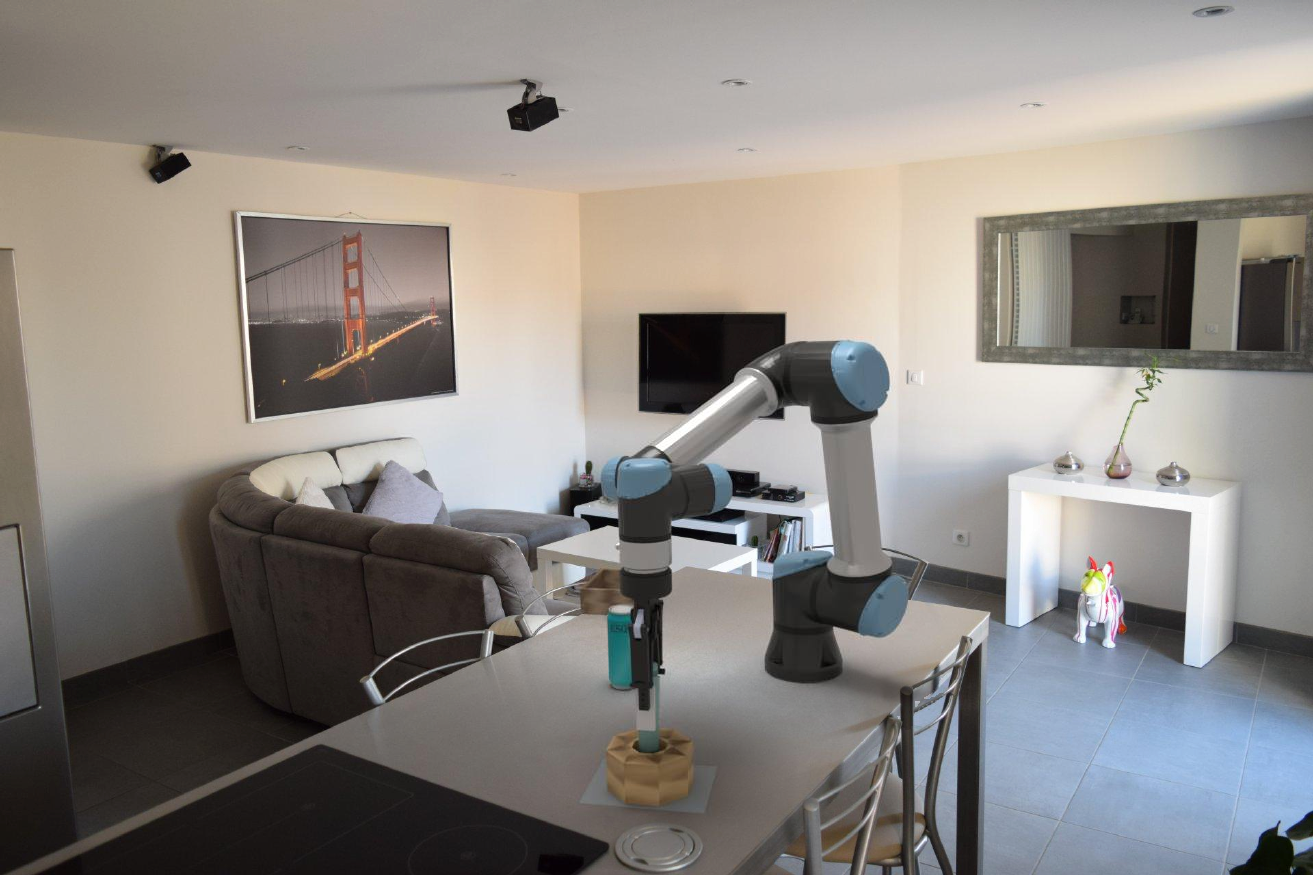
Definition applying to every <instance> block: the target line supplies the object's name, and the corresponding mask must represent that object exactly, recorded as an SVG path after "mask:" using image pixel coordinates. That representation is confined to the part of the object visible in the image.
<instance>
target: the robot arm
mask: <svg viewBox="0 0 1313 875" xmlns="http://www.w3.org/2000/svg"><path fill="white" fill-rule="evenodd" d="M890 385H891V379H890V371H889V367H888V364H887V362H886V359H885V358H884V356H883V354H882V353H881V351H879V350H878V349H877V348H876V347H875V346H874V345H872V344H871V343H868V342H865V341H854V340H849V339H846V340H819V341H818V340H813V341H809V340H800V341H799V340H798V341H792V342H788V343H785V344H783V345H781V346H778V347H775V348H773V349H772V350H770V351H768V352H766V353H764V354H763V355H761V356H759V357H757V358H756V359H754V360H753V361H751V362H750V363H748V364H746V365H745V366H744V367H743V368H741V369H740V370H739V371H737V373H736V374H735V375H734V379H733V382H732V383H730V384H729V385H728V386H726V387H725V388H724V389H722V390H721V391H720V392H718V393H717V394H715V395H714V396H713V397H712V398H710V399H709V400H707V401H706V402H705V403H703V404H702V405H701V406H700V407H698V408H697V409H695V410H694V411H692V412H691V413H690V414H688V415H687V416H686V417H684V418H683V419H682V420H680V421H679V422H678V423H676V424H675V425H673V426H672V427H670V428H669V429H667V431H665V432H664V433H662V434H661V435H660V436H658V437H657V438H656V439H654V440H653V441H652V442H650V443H649V444H647V445H646V446H645V447H643V448H642V449H640V450H639V451H637V452H636V453H635V454H634V455H632V456H629V455H620V456H619V455H618V456H613V457H611V458H609V460H607V462H606V463H605V464H604V466H603V468H602V470H601V473H600V485H601V486H600V487H601V490H602V492H603V494H604V496H606V498H608V500H609V499H610V500H611V501H614V502H616V503H617V519H618V521H617V523H618V542H617V543H616V544H615V546H614V547H615V550H618V551H619V553H618V554H619V555H618V556H619V565H620V566H621V568H620V569H621V570H620V572H619V573H620V593H621V594H622V595H623V596H625V597H627V598H631V599H632V600H634V608H631V611H630V619H631V621H632V624H630V623H629V626H628V631H629V638H630V654H631V676H632V682H631V683H630V687H632V689H635V717H636V718H635V720H636V721H635V722H636V723H635V724H636V728H635V729H636V730H647V731H655V730H656V708H655V685H653V684H654V683H653V662H656V663H657V664H658V709H659V722H660V721H661V718H662V717H661V715H662V713H661V712H662V711H661V709H662V708H661V707H662V706H661V704H662V703H661V675H662V676H663V675H666V668H665V667H664V668H661V667H662V666H663V665H664V664H663V663H664V659H663V653H664V652H663V647H664V646H663V613H664V603H665V602H664V600H663V598H666V597H668V596H669V595H671V594H672V591H673V573H672V572H673V570H672V568H671V567H670V565H672V563H673V548H672V546H673V545H672V544H673V543H672V522H675V521H680V520H684V519H689V518H694V517H699V516H709V515H711V514H713V513H716V512H719V511H722V510H725V508H727V506H728V505H729V503H730V502H731V500H732V497H733V481H732V479H731V476H730V474H729V472H728V470H727V469H725V467H724V466H722V465H721V464H718V463H715V462H712V463H711V462H709V463H705V462H703V461H704V460H705V459H706V458H708V457H709V456H710V455H712V454H713V453H714V452H715V451H717V450H718V449H719V448H720V447H722V446H723V445H724V444H725V443H727V442H728V441H729V440H731V439H732V438H733V437H735V436H736V435H737V434H739V433H740V432H741V431H742V430H743V429H745V428H746V427H747V426H748V425H750V424H751V423H752V422H754V421H755V420H756V419H758V418H759V417H768V416H771V415H772V414H773V413H774V412H776V411H777V410H779V409H782V408H785V407H794V406H796V407H798V406H799V407H807V408H809V414H810V422H811V424H813V425H815V426H816V427H817V428H818V429H819V430H820V437H821V445H822V452H823V462H824V470H825V481H826V483H825V484H826V490H827V491H826V492H827V500H828V509H829V510H828V511H829V519H830V528H831V536H832V546H833V553H832V552H831V551H829V550H820V549H817V550H815V549H814V550H813V549H812V550H800V551H793V552H788V553H783V554H781V555H779V556H777V557H776V559H775V560H774V561H773V565H772V566H773V567H772V577H771V580H772V581H771V584H772V585H771V586H772V617H773V618H772V623H773V624H772V627H773V629H772V632H771V636H770V638H769V641H768V645H767V647H766V649H765V653H764V654H765V655H764V670H765V671H766V672H767V673H768V674H769V675H771V676H772V677H774V678H777V679H781V680H784V681H789V682H796V683H819V682H825V681H829V680H832V679H835V678H837V677H839V676H840V675H841V674H842V672H843V666H844V665H843V657H842V654H841V650H840V647H839V643H838V640H837V638H836V635H835V632H834V631H835V630H834V628H837V629H841V630H844V631H848V632H852V633H856V634H859V635H860V636H863V637H865V636H866V637H867V636H869V637H873V638H877V639H878V638H879V639H881V638H884V637H887V636H890V634H892V633H893V632H895V631H896V630H897V628H898V627H899V625H900V624H901V623H902V620H903V617H904V616H905V613H906V612H907V607H908V604H909V595H910V594H909V587H908V583H907V582H906V580H905V579H904V578H903V577H902V576H900V575H898V574H894V572H893V571H894V570H893V561H892V558H891V557H890V556H889V555H888V554H887V553H886V552H884V551H883V545H882V536H881V535H882V534H881V525H880V524H881V522H880V513H879V503H878V494H877V492H878V491H877V482H876V473H875V472H876V471H875V461H874V451H873V450H874V449H873V441H872V439H873V438H872V430H871V429H872V428H871V425H872V424H873V422H874V421H875V420H876V419H877V418H878V417H879V409H880V408H882V406H883V405H884V404H885V402H887V399H888V396H889V395H888V393H887V392H889V390H890Z"/></svg>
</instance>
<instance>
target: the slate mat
mask: <svg viewBox="0 0 1313 875" xmlns="http://www.w3.org/2000/svg"><path fill="white" fill-rule="evenodd" d="M693 766H694V780H693V783H692V786H691V789H690V792H689V795H688V796H686V797H684V798H681V799H678V800H675V801H672V802H670V803H667V804H664V805H661V806H651V805H638V804H626V803H624V802H623V801H621V800H620V799H619V798H617V797H616V796H615V795H614V794H612V793H611V792H610V791H609V790H607V771H606V757H604V758H603V759H602V761H601V762H600V764H599V766H598V768H597V769H596V771H595V773H594V775H593V777H592V779H591V780H590V782H589V784H588V786H587V788H586V790H585V791H584V793H583V795H582V797H581V799H580V800H579V802H578V804H581V805H591V806H593V805H594V806H604V807H616V808H626V809H627V808H629V809H638V810H650V811H651V810H652V811H663V812H677V813H685V814H686V813H687V814H700V815H705V814H706V810H707V806H708V802H709V799H710V796H711V793H712V788H713V786H714V781H715V778H716V774H717V771H718V768H719V766H713V765H703V764H702V765H701V764H700V765H699V764H693Z"/></svg>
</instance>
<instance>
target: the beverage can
mask: <svg viewBox="0 0 1313 875" xmlns="http://www.w3.org/2000/svg"><path fill="white" fill-rule="evenodd" d="M631 608H634V606H632V605H615V606H612V607H610V608H609V613H608V615H606V617H607V618H606V620H607V621H606V622H607V628H606V629H607V657H608V658H607V660H608V661H607V662H608V679H609V682H610V683H611V686H612V687H613V689H615V688H616V689H615V690H619V691H625V690H626V691H627V690H628V691H629V690H632V689H633V688H632V687H630V683H631V682H632V676H631V654H630V638H629V631H628V626H629V623H630V624H632V621H631V619H630V611H631Z"/></svg>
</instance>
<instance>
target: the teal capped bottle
mask: <svg viewBox="0 0 1313 875" xmlns="http://www.w3.org/2000/svg"><path fill="white" fill-rule="evenodd" d="M658 676H659V674H658V664H657V663H656V662H653V683H654V684H653V685H655V708H656V730H655V731H647V730H638V734H639V753H651V754H654V753H657V752H659V728H660V726H659V725H660V724H659V722H660V721H659V709H658Z"/></svg>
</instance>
